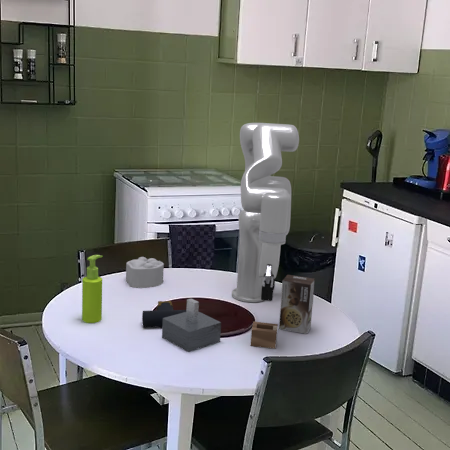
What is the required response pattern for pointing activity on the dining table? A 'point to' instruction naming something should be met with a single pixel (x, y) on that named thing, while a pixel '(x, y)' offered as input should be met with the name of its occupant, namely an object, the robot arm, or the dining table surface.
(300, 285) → the brown grey upright box
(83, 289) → the soap dispenser
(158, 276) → the lumpy-topped squat cylinder
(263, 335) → the brown small box
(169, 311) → the pipe connector
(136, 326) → the dining table surface
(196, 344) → the block
